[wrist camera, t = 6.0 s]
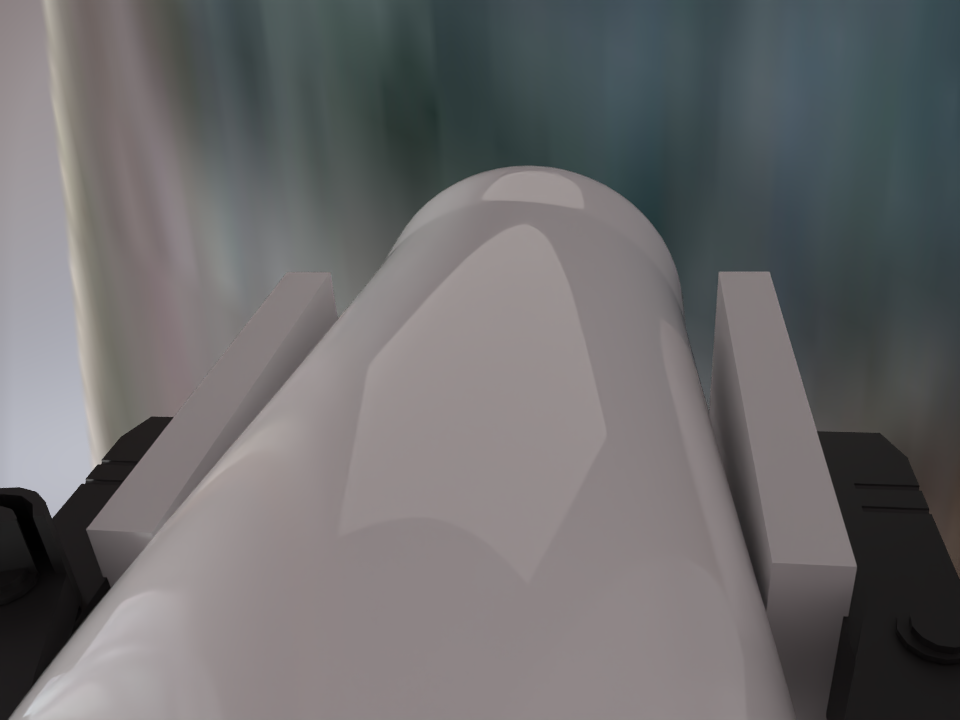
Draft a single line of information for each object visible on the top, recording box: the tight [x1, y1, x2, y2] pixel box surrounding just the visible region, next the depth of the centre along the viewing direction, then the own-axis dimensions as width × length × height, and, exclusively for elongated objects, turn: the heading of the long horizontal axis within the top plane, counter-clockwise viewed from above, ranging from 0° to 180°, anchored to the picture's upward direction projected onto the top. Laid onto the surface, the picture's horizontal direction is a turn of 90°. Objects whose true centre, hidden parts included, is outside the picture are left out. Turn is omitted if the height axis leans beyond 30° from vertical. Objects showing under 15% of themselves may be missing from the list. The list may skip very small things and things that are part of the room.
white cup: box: [8, 166, 797, 720], centre depth 10 cm, size 7×7×15 cm
